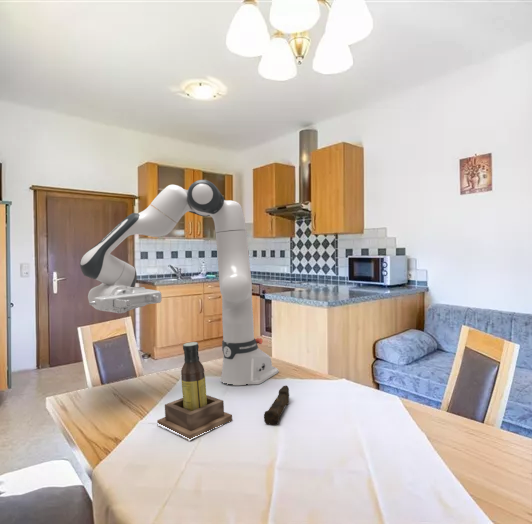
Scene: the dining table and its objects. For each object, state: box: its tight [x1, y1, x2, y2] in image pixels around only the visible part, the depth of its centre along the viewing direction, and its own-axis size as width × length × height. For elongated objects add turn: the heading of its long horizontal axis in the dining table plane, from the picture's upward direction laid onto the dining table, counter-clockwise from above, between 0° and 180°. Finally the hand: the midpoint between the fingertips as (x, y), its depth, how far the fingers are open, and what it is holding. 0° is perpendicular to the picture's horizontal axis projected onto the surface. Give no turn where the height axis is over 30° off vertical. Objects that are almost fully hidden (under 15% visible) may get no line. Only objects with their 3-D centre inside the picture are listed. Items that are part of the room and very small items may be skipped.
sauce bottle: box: [180, 341, 207, 411], centre depth 99 cm, size 6×6×20 cm
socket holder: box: [156, 394, 233, 439], centre depth 99 cm, size 14×14×6 cm
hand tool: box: [263, 385, 290, 426], centre depth 105 cm, size 19×4×5 cm, turn 161°
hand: (142, 301), depth 110 cm, fingers open, 8 cm apart
